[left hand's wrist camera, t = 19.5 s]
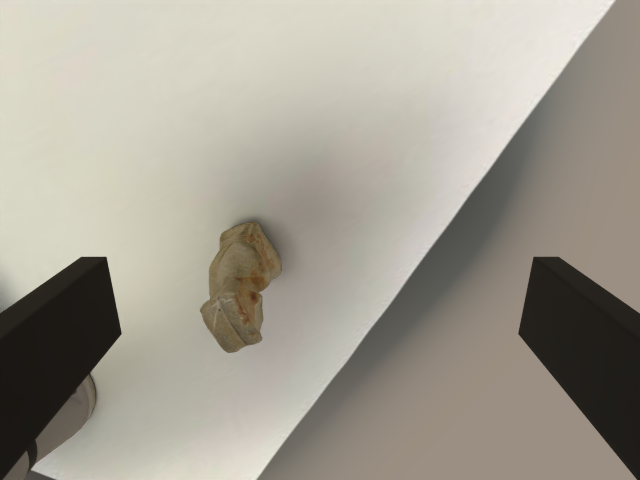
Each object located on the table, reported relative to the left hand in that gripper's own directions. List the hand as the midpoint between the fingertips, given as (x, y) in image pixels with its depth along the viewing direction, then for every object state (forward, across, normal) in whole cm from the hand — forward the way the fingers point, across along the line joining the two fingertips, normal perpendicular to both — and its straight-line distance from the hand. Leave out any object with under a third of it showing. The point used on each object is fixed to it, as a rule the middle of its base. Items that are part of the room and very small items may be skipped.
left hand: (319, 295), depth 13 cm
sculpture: (+30, +7, +10) cm, 33 cm away
